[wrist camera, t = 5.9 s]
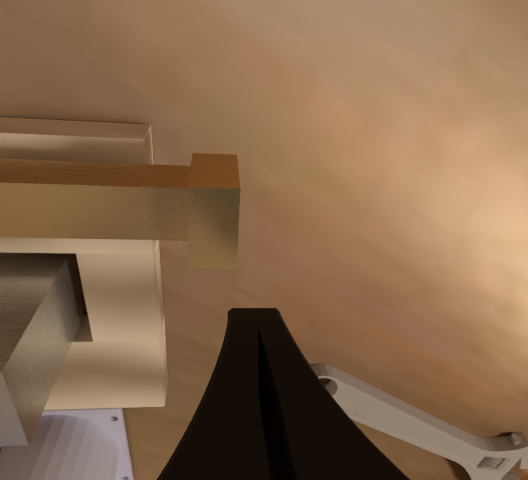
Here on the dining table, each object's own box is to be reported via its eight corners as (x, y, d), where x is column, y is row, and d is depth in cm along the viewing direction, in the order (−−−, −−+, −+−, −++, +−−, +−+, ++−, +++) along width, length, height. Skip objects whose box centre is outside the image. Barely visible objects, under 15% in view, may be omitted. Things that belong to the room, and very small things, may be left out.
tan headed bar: (233, 225, 17) (236, 269, 14) (-21, 220, 15) (-69, 266, 13) (236, 154, 15) (240, 188, 12) (-46, 143, 14) (-107, 177, 11)
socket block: (168, 378, 26) (164, 406, 24) (-38, 383, 24) (-58, 412, 23) (150, 124, 17) (143, 139, 16) (-164, 109, 16) (-210, 123, 14)
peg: (88, 304, 22) (28, 445, 15) (9, 304, 22) (-88, 449, 15) (75, 242, 20) (1, 372, 13) (-12, 240, 20) (-135, 374, 13)
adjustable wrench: (287, 375, 27) (290, 397, 26) (356, 317, 25) (365, 337, 24) (486, 483, 37) (498, 504, 36) (549, 448, 35) (564, 468, 34)
